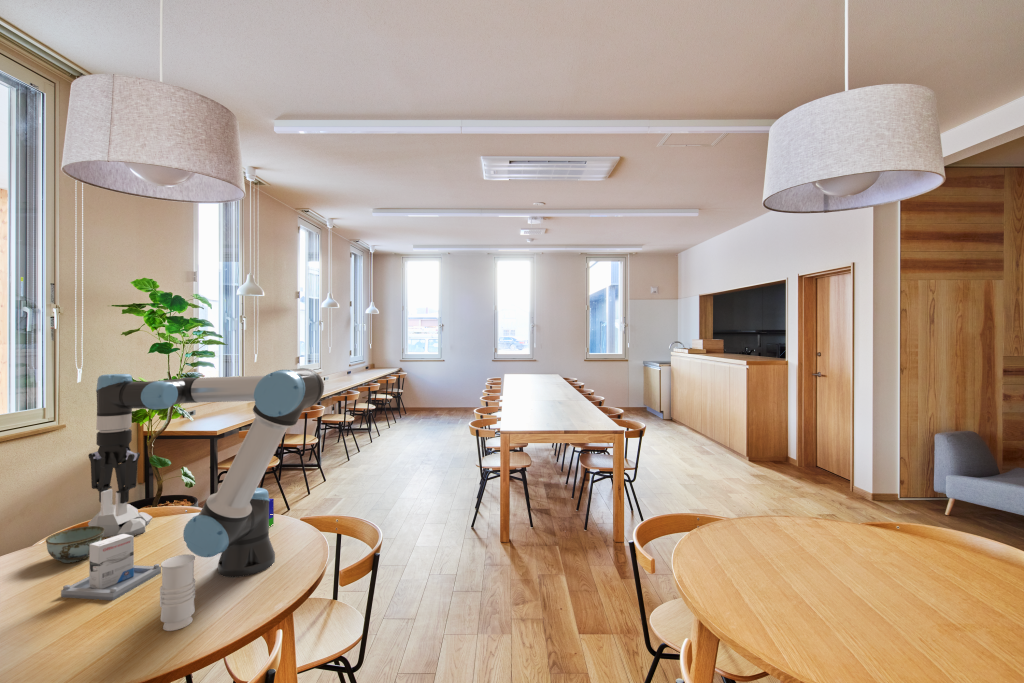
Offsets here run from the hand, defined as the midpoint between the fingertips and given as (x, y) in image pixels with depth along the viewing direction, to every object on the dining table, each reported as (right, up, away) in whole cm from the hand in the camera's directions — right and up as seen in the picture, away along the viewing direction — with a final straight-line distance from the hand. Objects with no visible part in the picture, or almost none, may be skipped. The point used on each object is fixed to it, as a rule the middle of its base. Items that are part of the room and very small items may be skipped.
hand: (113, 514), depth 133 cm
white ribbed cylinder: (+30, -20, -18) cm, 41 cm away
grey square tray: (0, -20, 0) cm, 20 cm away
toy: (+17, -20, +39) cm, 47 cm away
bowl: (-25, -20, +15) cm, 35 cm away
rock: (-28, -20, +37) cm, 51 cm away
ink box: (0, -19, 0) cm, 19 cm away
